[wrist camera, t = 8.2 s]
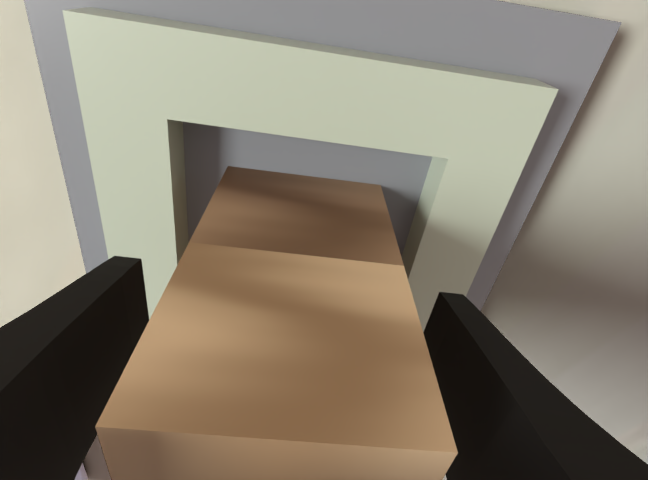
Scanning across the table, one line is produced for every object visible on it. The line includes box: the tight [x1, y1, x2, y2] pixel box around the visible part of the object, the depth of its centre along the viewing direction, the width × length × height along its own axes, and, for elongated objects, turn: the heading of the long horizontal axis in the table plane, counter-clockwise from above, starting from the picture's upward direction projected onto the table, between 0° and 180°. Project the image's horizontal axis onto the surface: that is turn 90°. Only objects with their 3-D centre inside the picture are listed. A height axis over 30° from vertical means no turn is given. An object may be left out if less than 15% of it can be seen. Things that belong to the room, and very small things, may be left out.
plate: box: [24, 0, 621, 332], centre depth 13 cm, size 14×14×2 cm
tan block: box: [95, 166, 458, 480], centre depth 9 cm, size 4×4×8 cm
